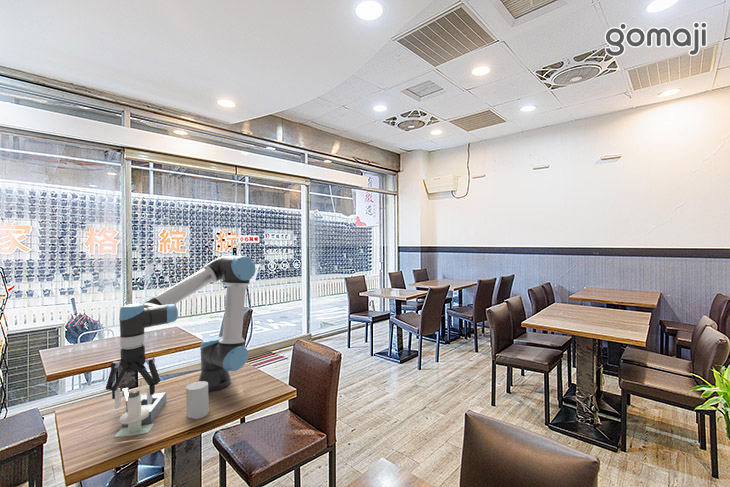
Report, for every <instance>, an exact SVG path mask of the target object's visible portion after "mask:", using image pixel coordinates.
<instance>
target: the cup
mask: <svg viewBox="0 0 730 487" xmlns="http://www.w3.org/2000/svg"><path fill="white" fill-rule="evenodd" d="M185 388H186V389H185V390H186V391H185V392H186V393H185V394H186V398H185V400H186V403H185V404H186V418H189V419H193V420H198V419H202V418H203V417H206V416H207V415H208V414H209V413H210V412H209V411H210V410H209V408H210V407H209V404H210V403H209V391H208V382H206V381H199V382H198V381H193V382H191V383H189V384H187V386H185Z"/></svg>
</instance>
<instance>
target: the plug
mask: <svg viewBox="0 0 730 487" xmlns="http://www.w3.org/2000/svg"><path fill="white" fill-rule="evenodd" d="M128 394H129V396H128V397H127V404H128V412H127V413H125V414H123V413H122V414H121V415H120V417H119V423H120V424H121V425H122V424H128V426H127V427H128V432H129V433H135V432H138V431H140V430H141V429H142V425H143V424H142V420H144V419H145V418H147V417H148V416H149V410H148V409H141V395H142V394H141V392H140V390H138V389H137V390H133V391H130V392H128Z"/></svg>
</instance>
